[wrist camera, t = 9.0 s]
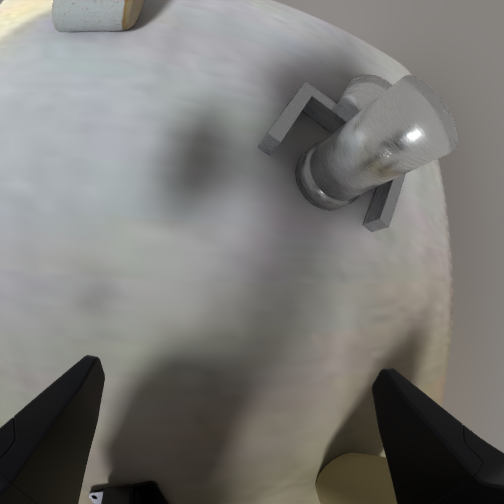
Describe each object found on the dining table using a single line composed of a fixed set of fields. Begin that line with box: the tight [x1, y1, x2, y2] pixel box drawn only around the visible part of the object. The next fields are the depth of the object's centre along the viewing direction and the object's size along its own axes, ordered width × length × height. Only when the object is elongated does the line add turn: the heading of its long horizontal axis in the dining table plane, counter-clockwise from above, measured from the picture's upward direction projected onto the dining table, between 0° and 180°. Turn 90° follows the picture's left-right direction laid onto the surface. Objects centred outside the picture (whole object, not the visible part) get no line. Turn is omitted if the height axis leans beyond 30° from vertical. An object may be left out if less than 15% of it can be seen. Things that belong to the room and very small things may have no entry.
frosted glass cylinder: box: [296, 75, 458, 210], centre depth 20 cm, size 6×6×13 cm
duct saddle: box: [258, 75, 406, 232], centre depth 24 cm, size 12×13×6 cm
